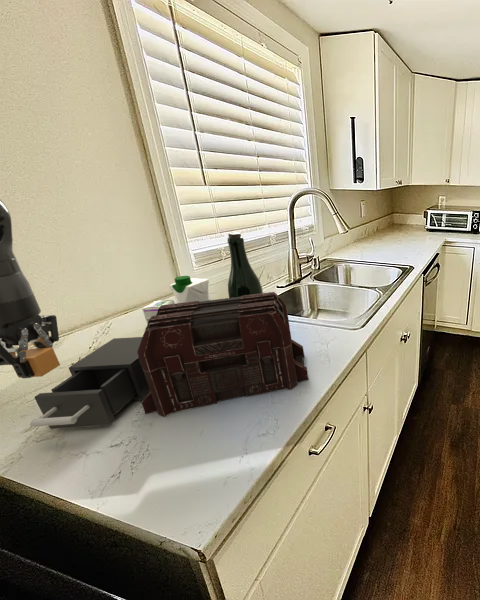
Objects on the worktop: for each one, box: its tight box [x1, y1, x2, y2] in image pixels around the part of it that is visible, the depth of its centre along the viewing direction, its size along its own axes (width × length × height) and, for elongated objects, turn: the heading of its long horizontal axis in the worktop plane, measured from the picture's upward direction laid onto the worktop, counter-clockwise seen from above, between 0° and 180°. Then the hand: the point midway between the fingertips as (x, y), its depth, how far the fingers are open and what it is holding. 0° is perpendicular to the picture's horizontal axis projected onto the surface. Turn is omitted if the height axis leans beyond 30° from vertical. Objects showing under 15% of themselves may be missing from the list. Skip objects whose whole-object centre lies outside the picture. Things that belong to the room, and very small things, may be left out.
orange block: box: [16, 347, 61, 379], centre depth 70 cm, size 4×4×4 cm
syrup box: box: [142, 299, 176, 325], centre depth 97 cm, size 6×6×14 cm
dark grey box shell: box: [68, 336, 150, 402], centre depth 80 cm, size 14×13×10 cm
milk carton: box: [168, 275, 211, 303], centre depth 104 cm, size 9×9×20 cm
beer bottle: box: [227, 232, 264, 298], centre depth 102 cm, size 10×10×33 cm
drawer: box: [29, 368, 137, 430], centre depth 69 cm, size 17×12×8 cm
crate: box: [137, 291, 309, 418], centre depth 79 cm, size 35×19×21 cm, turn 110°
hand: (39, 369), depth 70 cm, fingers closed on orange block, 4 cm apart
